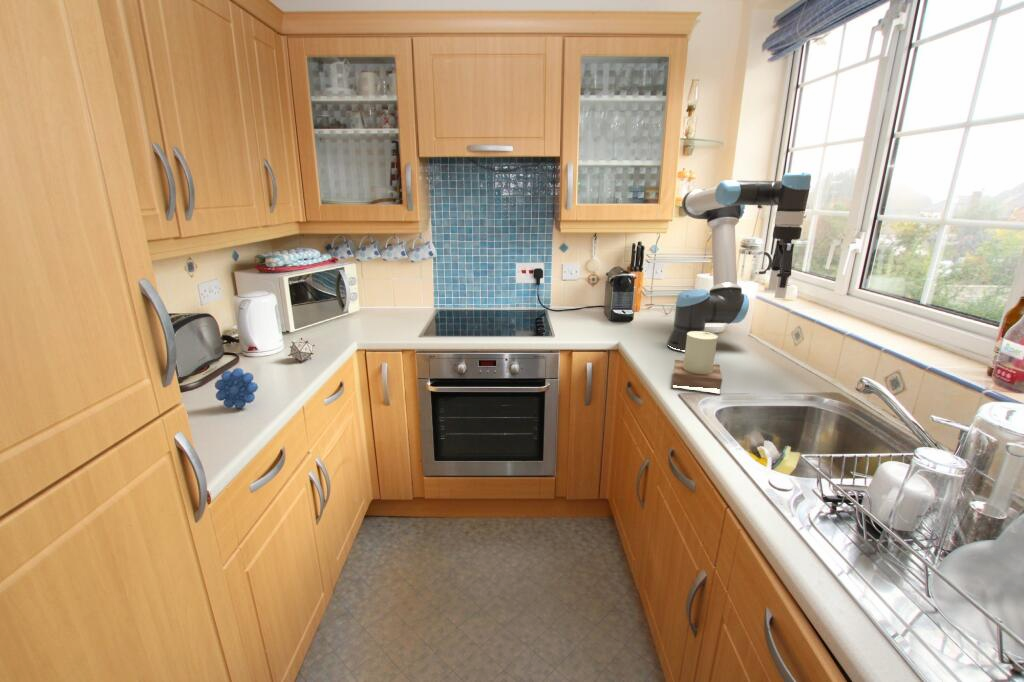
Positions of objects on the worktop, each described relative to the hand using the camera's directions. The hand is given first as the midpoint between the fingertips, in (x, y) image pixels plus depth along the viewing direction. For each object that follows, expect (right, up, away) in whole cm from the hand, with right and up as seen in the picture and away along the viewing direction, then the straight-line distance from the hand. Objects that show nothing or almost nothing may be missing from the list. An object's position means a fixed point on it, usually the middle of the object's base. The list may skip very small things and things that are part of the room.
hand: (775, 294), depth 150 cm
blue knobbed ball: (-161, -34, -19) cm, 165 cm away
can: (-25, -24, +1) cm, 35 cm away
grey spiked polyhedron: (-160, -22, +19) cm, 163 cm away
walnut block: (-25, -29, +3) cm, 38 cm away
